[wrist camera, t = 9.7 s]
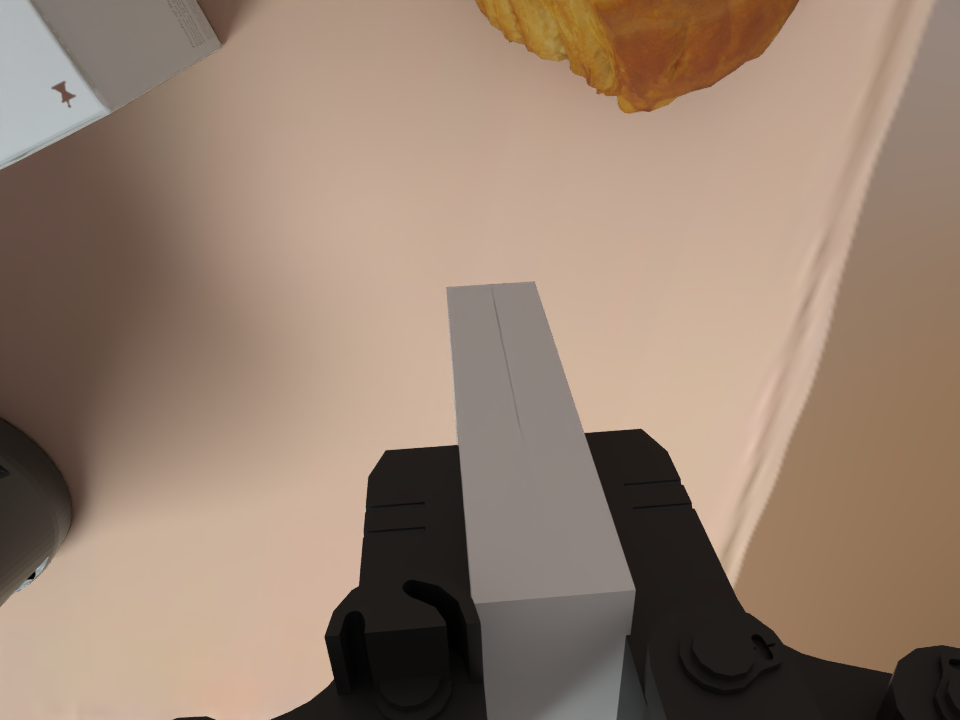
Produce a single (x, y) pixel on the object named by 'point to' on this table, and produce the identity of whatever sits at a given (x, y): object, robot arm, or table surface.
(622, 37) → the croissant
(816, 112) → the table surface
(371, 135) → the table surface
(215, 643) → the table surface
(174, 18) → the supplement box
